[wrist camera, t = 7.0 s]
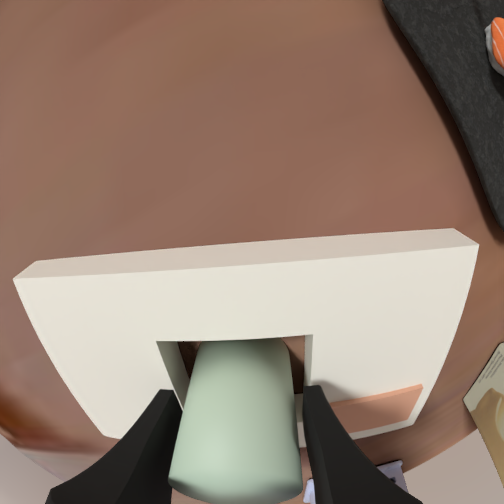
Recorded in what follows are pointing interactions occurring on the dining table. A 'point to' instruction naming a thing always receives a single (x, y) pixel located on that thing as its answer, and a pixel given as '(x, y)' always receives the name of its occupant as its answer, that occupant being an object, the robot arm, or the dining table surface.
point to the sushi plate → (465, 75)
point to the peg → (239, 426)
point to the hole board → (258, 318)
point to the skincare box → (490, 407)
